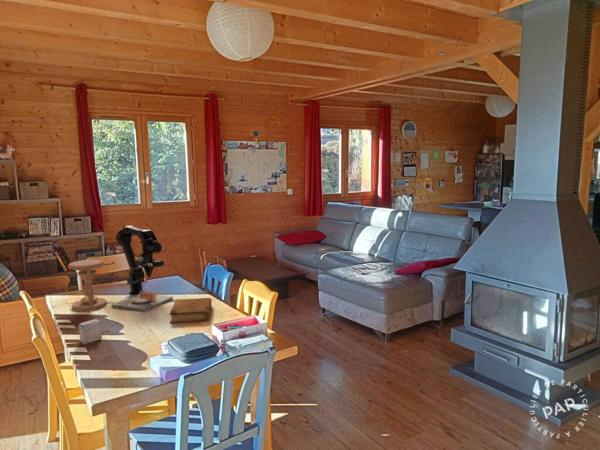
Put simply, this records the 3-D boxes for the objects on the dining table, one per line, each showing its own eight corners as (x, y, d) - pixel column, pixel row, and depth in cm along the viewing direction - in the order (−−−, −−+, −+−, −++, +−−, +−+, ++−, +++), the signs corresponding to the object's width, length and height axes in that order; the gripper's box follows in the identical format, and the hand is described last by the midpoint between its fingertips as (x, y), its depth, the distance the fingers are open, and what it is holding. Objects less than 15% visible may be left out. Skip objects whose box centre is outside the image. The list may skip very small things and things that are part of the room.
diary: (208, 322, 218) (208, 311, 217) (170, 324, 216) (169, 313, 215) (211, 307, 241) (211, 297, 240) (176, 309, 238) (176, 299, 238)
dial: (127, 301, 247) (126, 292, 247) (146, 295, 257) (145, 287, 256) (145, 306, 237) (144, 297, 236) (163, 300, 247) (163, 291, 246)
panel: (112, 307, 242) (111, 303, 242) (141, 295, 263) (140, 292, 263) (145, 311, 234) (145, 308, 234) (172, 299, 255) (172, 295, 255)
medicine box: (97, 336, 201) (96, 318, 199) (102, 339, 198) (100, 320, 197) (79, 342, 195) (78, 323, 193) (84, 344, 192) (83, 325, 191)
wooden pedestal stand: (106, 308, 240) (102, 264, 236) (70, 313, 234) (66, 267, 230) (107, 299, 256) (104, 258, 253) (74, 303, 250) (70, 260, 246)
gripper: (125, 252, 254) (126, 279, 256) (151, 254, 247) (152, 281, 249) (138, 249, 264) (140, 274, 266) (163, 250, 257) (165, 276, 259)
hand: (149, 276), depth 260 cm, fingers closed
